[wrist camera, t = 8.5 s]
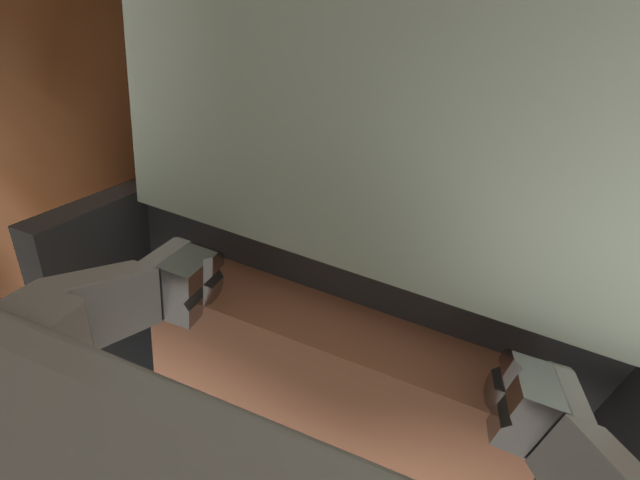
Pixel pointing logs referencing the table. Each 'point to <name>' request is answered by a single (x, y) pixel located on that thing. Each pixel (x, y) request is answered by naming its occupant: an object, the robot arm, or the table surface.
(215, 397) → the robot arm
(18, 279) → the table surface
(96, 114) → the table surface
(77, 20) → the table surface
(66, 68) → the table surface
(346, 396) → the terracotta tile
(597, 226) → the sage board
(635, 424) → the tray
